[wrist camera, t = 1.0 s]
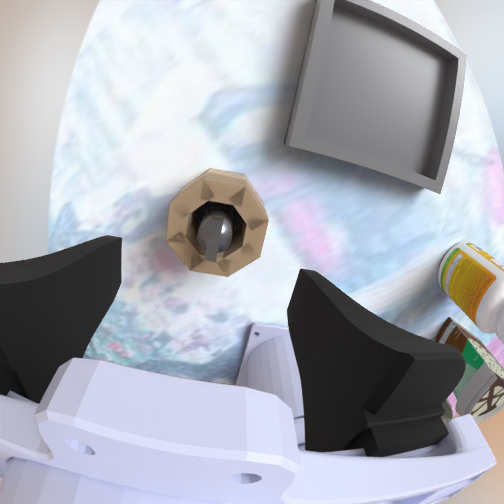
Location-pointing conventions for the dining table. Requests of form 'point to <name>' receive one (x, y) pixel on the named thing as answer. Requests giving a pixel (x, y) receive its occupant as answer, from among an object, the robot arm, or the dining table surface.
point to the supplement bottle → (475, 285)
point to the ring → (243, 236)
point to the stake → (216, 229)
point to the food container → (475, 374)
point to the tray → (378, 92)
